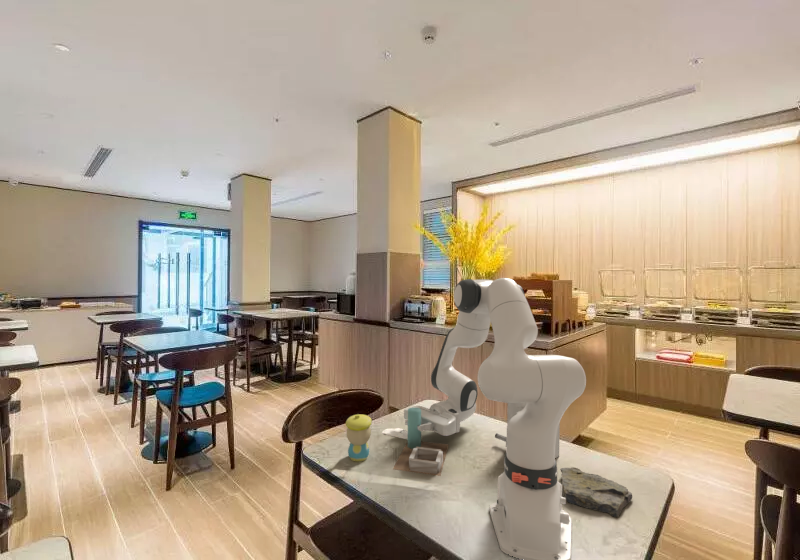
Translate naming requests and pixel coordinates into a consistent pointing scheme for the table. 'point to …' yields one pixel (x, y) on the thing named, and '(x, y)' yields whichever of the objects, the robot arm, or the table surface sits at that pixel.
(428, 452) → the walnut board
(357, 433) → the toy
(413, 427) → the teal peg
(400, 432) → the toy car
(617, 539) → the table surface
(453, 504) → the table surface
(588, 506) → the stone
